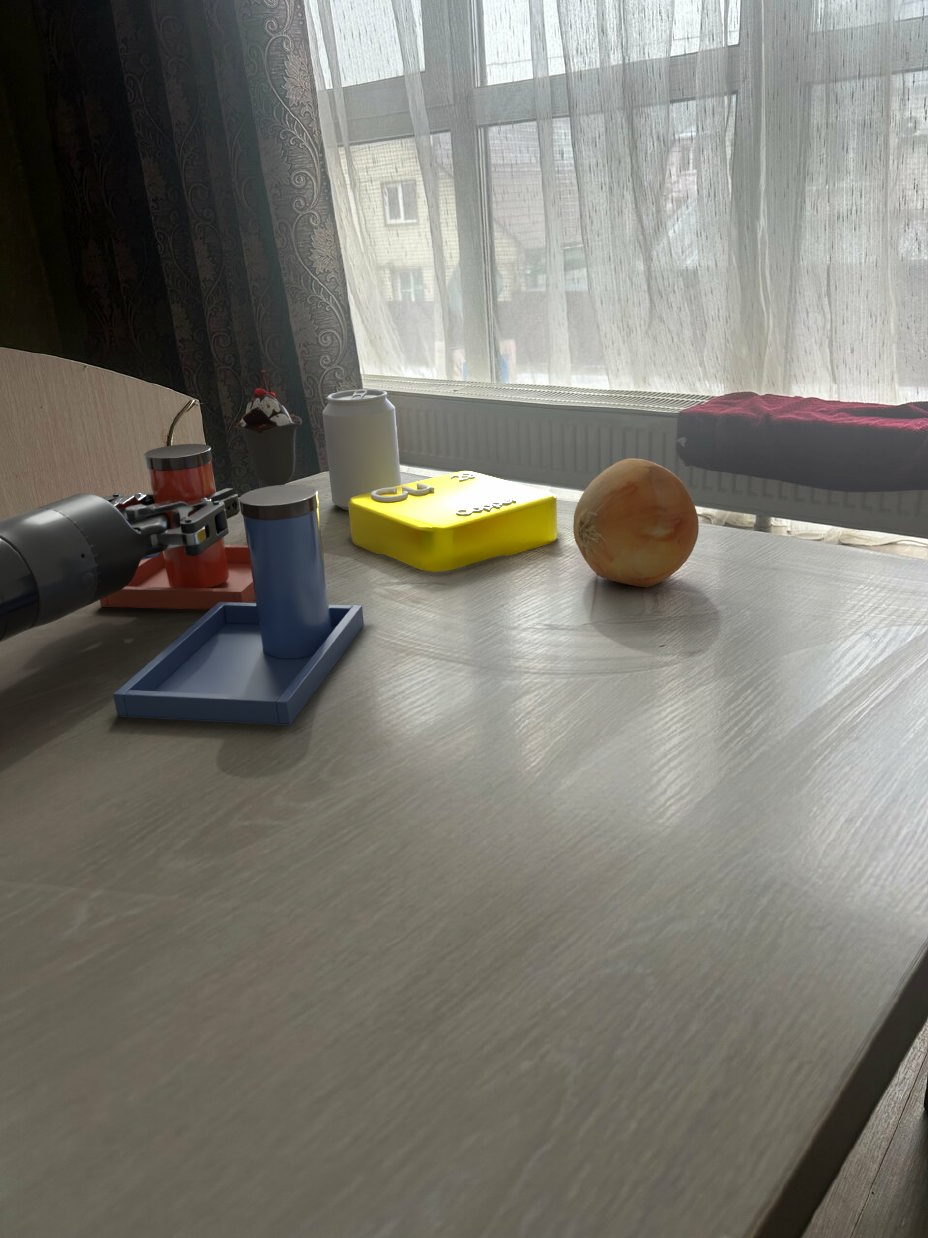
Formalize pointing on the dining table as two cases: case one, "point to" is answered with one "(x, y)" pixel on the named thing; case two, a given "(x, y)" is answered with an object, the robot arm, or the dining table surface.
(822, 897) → the dining table surface
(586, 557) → the onion
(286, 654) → the blue jar
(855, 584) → the dining table surface
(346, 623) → the blue tray
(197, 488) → the red jar
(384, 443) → the can
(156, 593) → the red tray
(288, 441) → the sundae
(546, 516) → the element tile
